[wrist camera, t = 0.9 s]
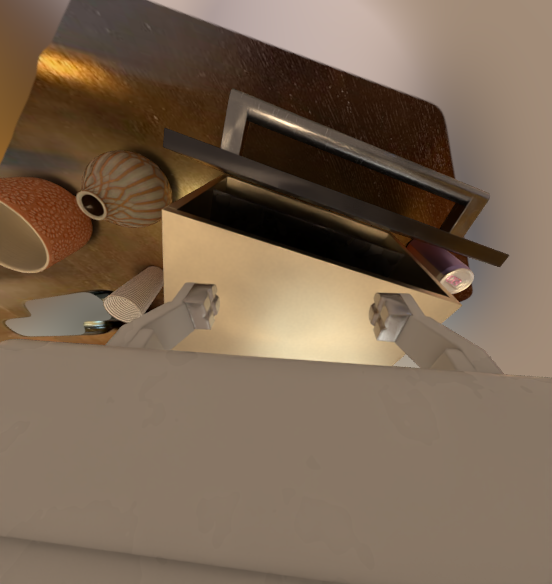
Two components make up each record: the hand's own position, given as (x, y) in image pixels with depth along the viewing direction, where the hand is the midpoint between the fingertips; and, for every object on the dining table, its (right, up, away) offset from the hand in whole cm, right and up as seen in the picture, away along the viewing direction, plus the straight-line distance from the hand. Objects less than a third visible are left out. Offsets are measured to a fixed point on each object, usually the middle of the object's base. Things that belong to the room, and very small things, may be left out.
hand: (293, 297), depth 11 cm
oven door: (+8, +23, +34) cm, 42 cm away
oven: (+2, +8, +45) cm, 46 cm away
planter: (-52, +20, +40) cm, 69 cm away
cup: (-36, +5, +50) cm, 62 cm away
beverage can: (+34, +11, +40) cm, 53 cm away
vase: (-28, +24, +35) cm, 51 cm away
